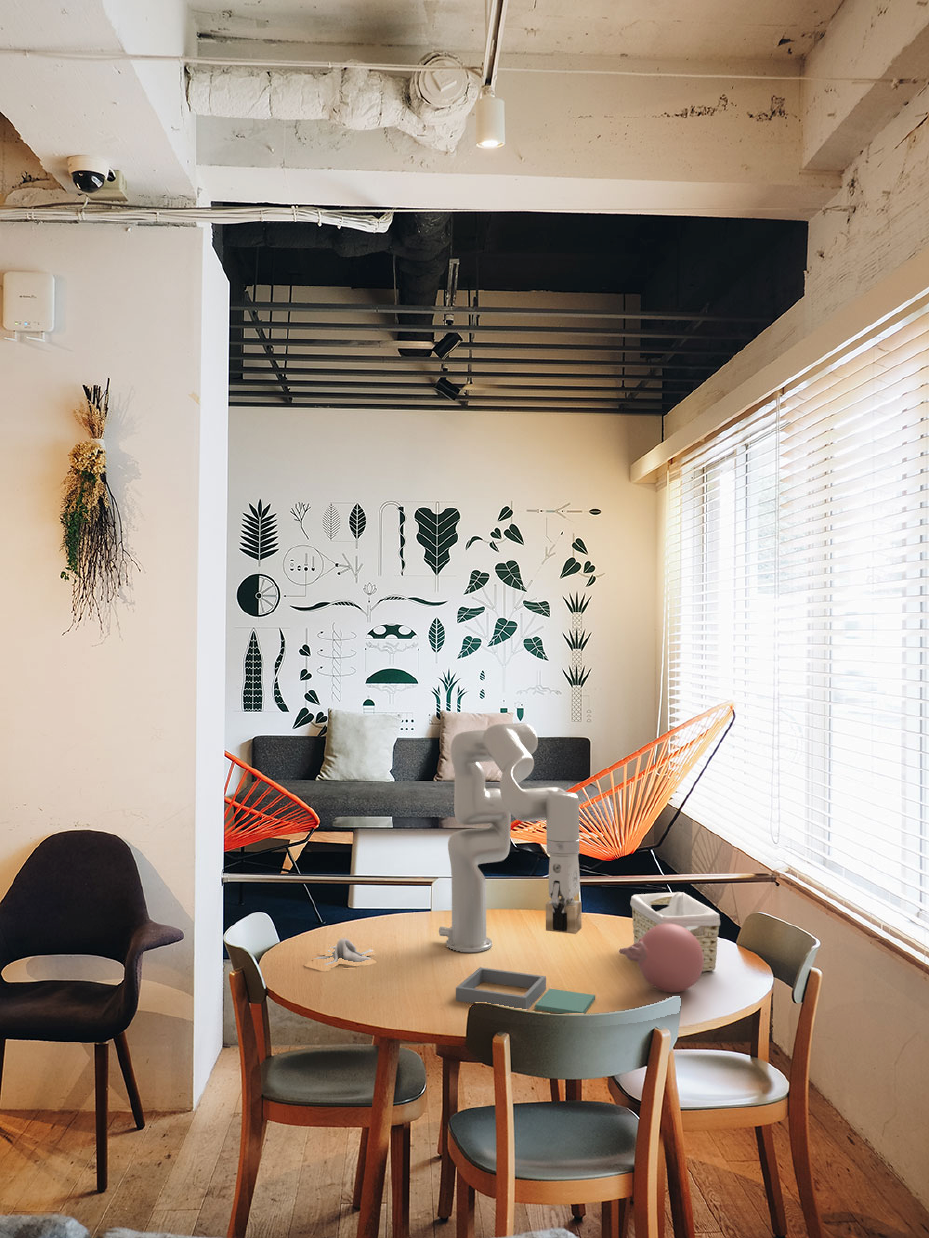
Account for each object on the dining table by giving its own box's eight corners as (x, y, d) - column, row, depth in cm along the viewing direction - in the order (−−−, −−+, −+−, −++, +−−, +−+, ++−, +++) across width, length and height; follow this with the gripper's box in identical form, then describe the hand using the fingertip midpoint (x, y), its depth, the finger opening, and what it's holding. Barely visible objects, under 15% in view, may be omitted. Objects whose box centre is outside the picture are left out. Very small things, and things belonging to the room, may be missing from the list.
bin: (456, 1000, 211) (455, 987, 211) (479, 979, 225) (479, 967, 225) (525, 1011, 205) (525, 997, 205) (546, 989, 218) (546, 976, 219)
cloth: (298, 974, 231) (298, 949, 231) (311, 951, 249) (311, 928, 249) (386, 974, 230) (386, 950, 231) (393, 951, 249) (393, 928, 249)
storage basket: (628, 947, 250) (628, 892, 251) (684, 944, 253) (684, 890, 253) (662, 977, 227) (661, 917, 227) (723, 973, 229) (722, 914, 230)
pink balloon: (613, 979, 225) (612, 915, 226) (694, 978, 225) (693, 915, 226) (624, 1002, 210) (624, 934, 210) (711, 1002, 210) (710, 934, 211)
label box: (575, 934, 206) (575, 906, 206) (545, 930, 209) (545, 902, 209) (581, 927, 211) (581, 900, 211) (552, 924, 213) (552, 897, 214)
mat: (535, 1009, 206) (535, 1004, 206) (549, 992, 216) (549, 988, 216) (582, 1016, 202) (582, 1011, 202) (595, 999, 212) (595, 994, 212)
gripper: (568, 855, 201) (568, 939, 200) (588, 841, 217) (589, 918, 216) (535, 852, 204) (536, 935, 203) (558, 838, 220) (558, 915, 219)
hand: (563, 926), depth 210 cm, fingers closed on label box, 5 cm apart
